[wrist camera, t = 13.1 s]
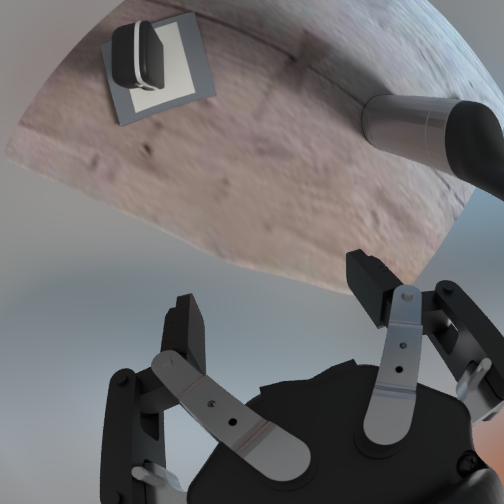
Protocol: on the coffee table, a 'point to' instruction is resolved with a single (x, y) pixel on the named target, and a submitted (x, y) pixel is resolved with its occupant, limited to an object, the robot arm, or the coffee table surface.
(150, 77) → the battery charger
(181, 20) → the pad
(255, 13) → the coffee table surface
